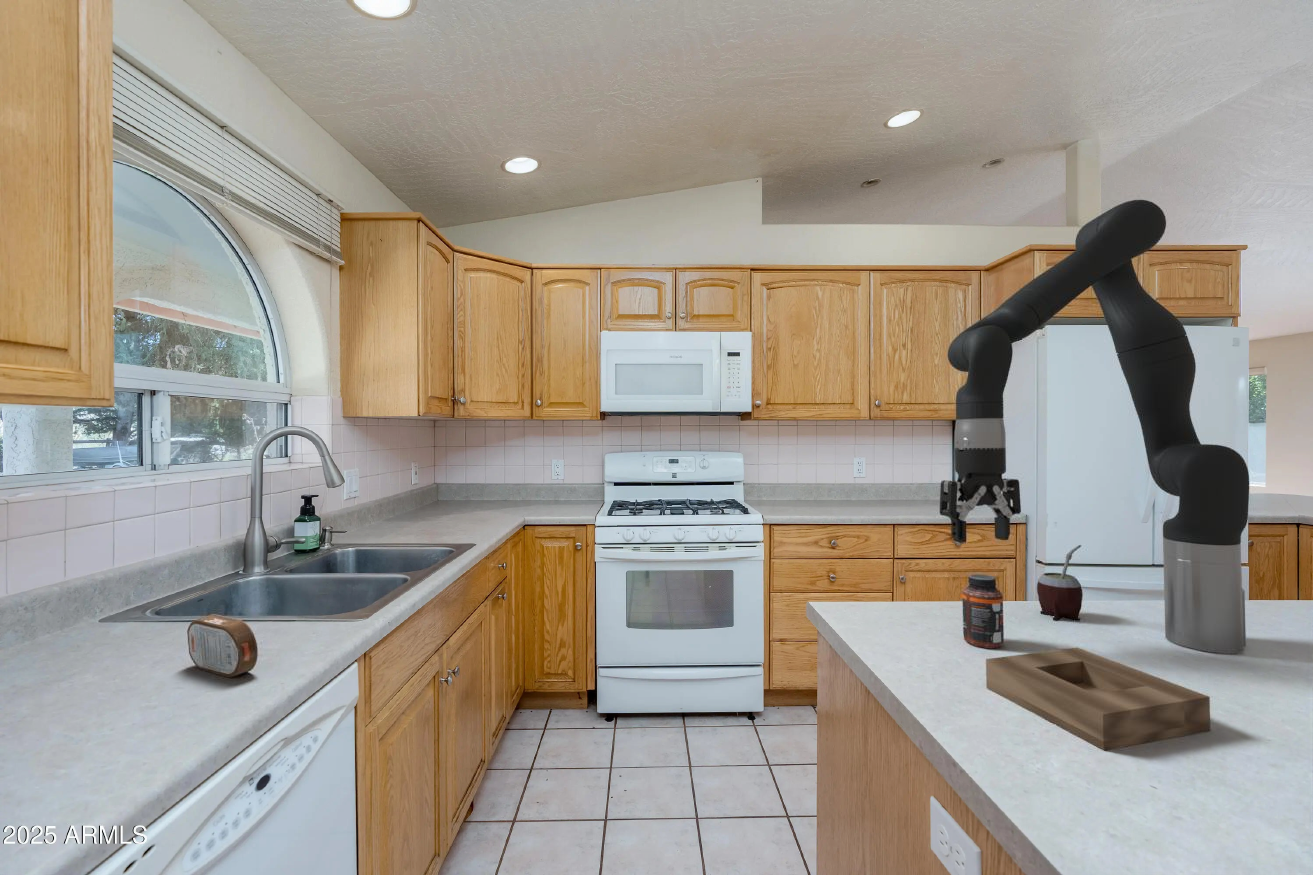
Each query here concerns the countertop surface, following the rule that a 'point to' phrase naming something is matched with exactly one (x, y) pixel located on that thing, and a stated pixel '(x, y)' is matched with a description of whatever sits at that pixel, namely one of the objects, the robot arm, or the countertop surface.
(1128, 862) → the countertop surface
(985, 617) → the supplement bottle
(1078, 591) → the mate gourd
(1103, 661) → the walnut holder
